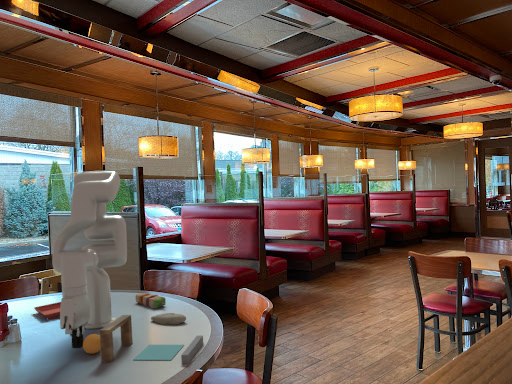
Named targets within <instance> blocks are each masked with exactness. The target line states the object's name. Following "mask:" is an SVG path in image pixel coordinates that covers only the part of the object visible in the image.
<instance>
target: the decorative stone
mask: <svg viewBox="0 0 512 384" xmlns="http://www.w3.org/2000/svg"><path fill="white" fill-rule="evenodd" d="M150 320H151V321H153V322H155V323H158V324H161V325H179V324H183V323H185V322H186V320H187V317H186V316H185V315H184V314H181V313H175V312H167V313H160V314H156V315H153V316H151V318H150Z"/></svg>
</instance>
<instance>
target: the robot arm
mask: <svg viewBox="0 0 512 384" xmlns="http://www.w3.org/2000/svg"><path fill="white" fill-rule="evenodd" d="M73 185H74V186H73V188H72V198H71V205H70V206H71V207H70V219H69V222H67V224H65V226H64V227H62V229H61V230H60V231H59V233H58V235H57V236H56V237H55V240H54V243H53V250H52V258H51V259H52V262H51V263H52V267H53V270H54V271H55V272H56V273H59V274H60V276H61V277H60V279H61V293H62V294H61V297H62V298H61V300H60V302H61V306H60V317H59V326H60V330H65V331H64V333H65V335H69V336H70V337H71V348H72V349H82V348H83V341H84V339H85V338H84V334H85V329H87V330H94V329H95V330H96V329H102V328H104V327H105V326H107V325H108V324H110V323H111V322H113V321H114V320H116V319H117V318H116V317H115V316H113V315H112V314H113V313H112V297H111V295H112V294H111V279H110V276H109V274H108V273H107V271H106V270H105V269H104V268H113V267H114V268H115V267H116V268H117V267H122V266H124V265H125V264H126V263H127V260H128V240H127V237H128V236H127V223H126V220H125V219H124V217H123V216H122V215H118V214H117V215H108V213H107V204H110V203H112V202H113V201H115V198H116V197H117V194H118V192H119V190H120V187H121V186H120V185H121V178H120V175H119V173H118V172H116V171H113V170H111V171H110V170H109V171H108V170H103V171H86V172H85V171H84V172H79V173H77V174H76V175H74V177H73ZM83 231H84V237H85V238H86V239H87V240H88V241H106V240H107V241H108V240H113V241H114V242H101V243H90V244H86V245H84V246H83V247H82V248H81V249H66V250H65V248H66V245H67V244H68V242H69V241H70V240H71V239H72V238H73V237H74V236H76V235H78V234H80V233H81V232H83Z"/></svg>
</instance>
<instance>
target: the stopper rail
mask: <svg viewBox="0 0 512 384" xmlns="http://www.w3.org/2000/svg"><path fill="white" fill-rule="evenodd" d="M203 344H204V335H196V336H195V337H194V338H193V340H192V341H191V343H189V345H188V346H187V347H186V349H184V351H183V352H182V353H181V356H180V357H181V359H180V360H181V364H184V365H185V364H189V363H190V362H191V361H192V359H193V358H194V356H195V355H196V354H197V352H198V351H199V349H201V347H202V346H203Z"/></svg>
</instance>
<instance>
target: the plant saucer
mask: <svg viewBox="0 0 512 384" xmlns="http://www.w3.org/2000/svg"><path fill="white" fill-rule="evenodd" d="M60 306H61V301H58V302H54V303H50V304H45V305H39V306H36V307H33V309H34V311H36V312H37V314H40V315H41V316H42V317H43V318H45V319H46V320H53V319H58V318H60Z"/></svg>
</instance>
